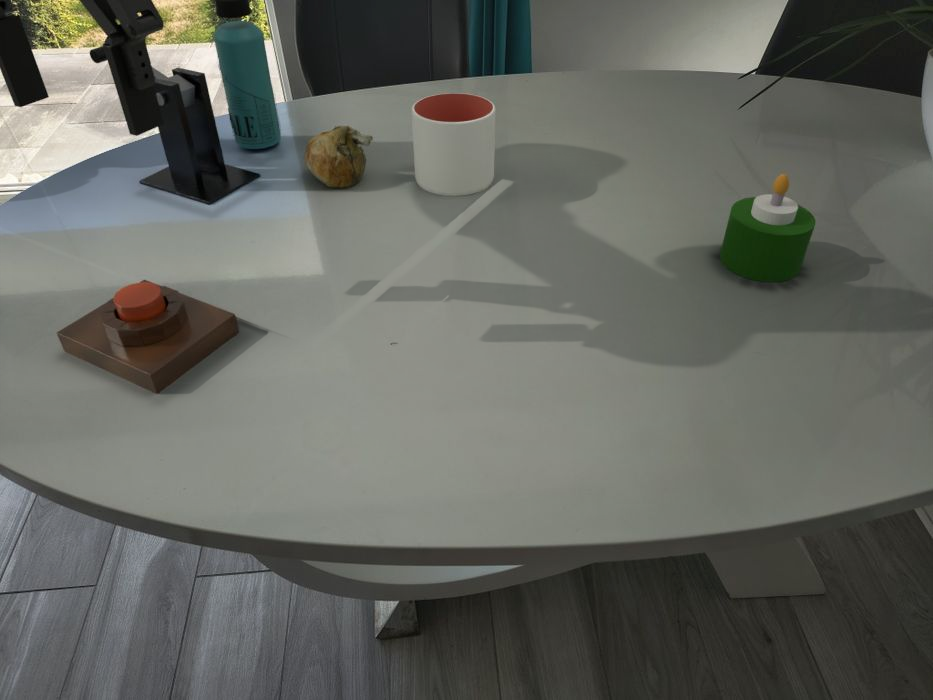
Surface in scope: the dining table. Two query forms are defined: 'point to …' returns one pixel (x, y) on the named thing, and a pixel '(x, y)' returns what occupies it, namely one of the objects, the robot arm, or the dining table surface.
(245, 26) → the beverage bottle
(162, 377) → the button block
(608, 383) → the dining table surface
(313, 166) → the onion
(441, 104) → the cup
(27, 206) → the dining table surface
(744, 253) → the candle
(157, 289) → the button
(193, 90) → the lever
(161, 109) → the bracket
